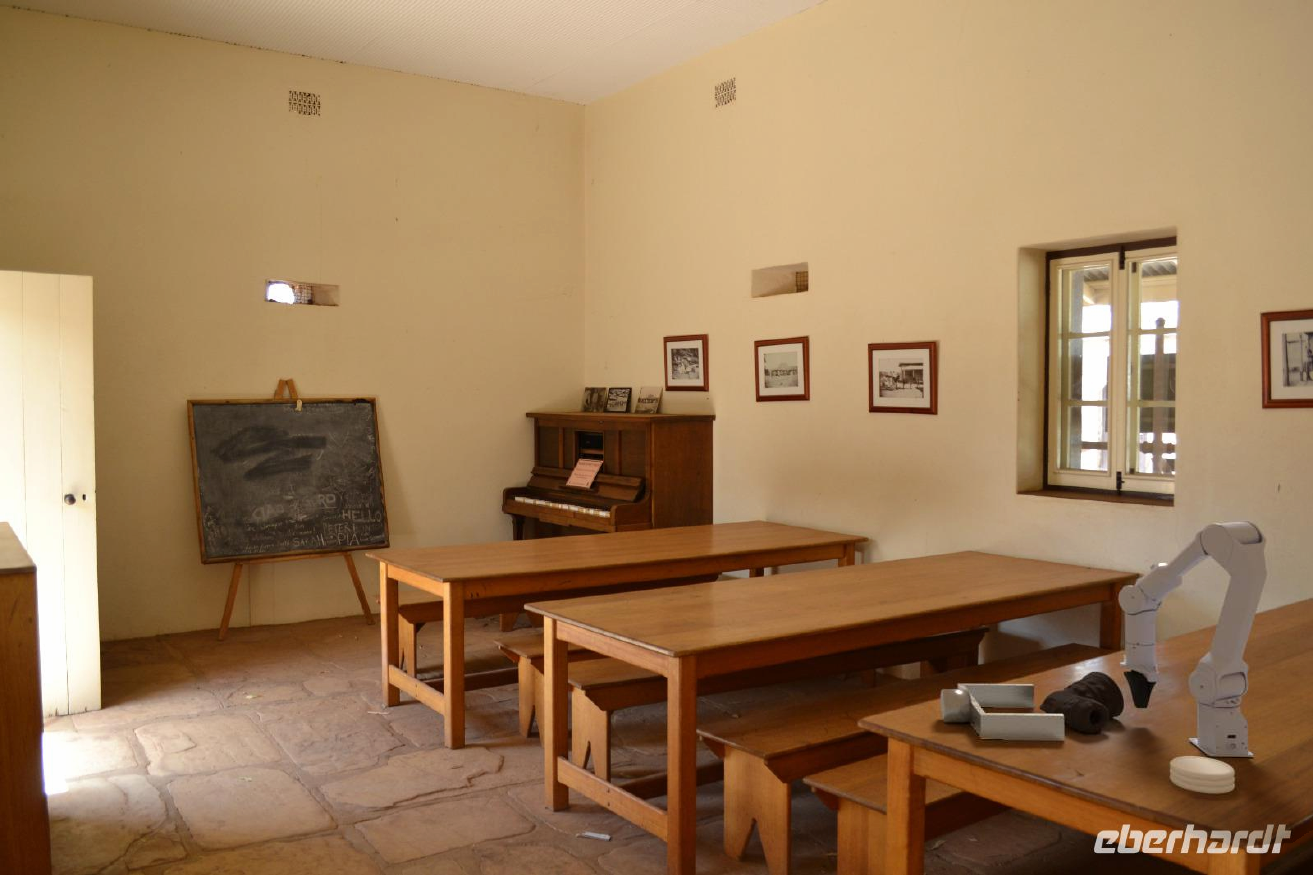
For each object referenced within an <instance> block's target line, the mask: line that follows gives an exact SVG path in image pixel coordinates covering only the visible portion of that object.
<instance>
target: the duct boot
mask: <svg viewBox="0 0 1313 875" xmlns="http://www.w3.org/2000/svg"><path fill="white" fill-rule="evenodd" d="M981 707H993V708H995V709H998V708H999V709H1034V708H1035V685H1034V684H1033V683H957V688H954V689H953V688H951V689H945V688H943V689H942V688H941V691H940V712H941V718H942V721H943V720H944V721H943V722H944V723H964V722H970V723H971V724H972V726H973V727H974V728H975V730H976V732H978V734H979V736H980V737H981V738H990V739H1003V740H1002V741H1054V742H1055V741H1057V742H1058V741H1060V742H1061V741H1062V742H1064V741H1065V721H1064V715H1063V714H1046V713H1011V712H1010V713H1008V712H1007V713H1004V712H1001V713H999V712H998V713H997V712H995V713H993V712H989V713H986V712H985V711H984V708H981ZM993 708H992V709H993ZM970 723H969V724H970ZM971 724H970V725H971ZM972 726H971V727H972ZM973 727H972V728H973ZM975 730H974V731H975ZM976 732H975V733H976ZM979 736H978V737H979Z"/></svg>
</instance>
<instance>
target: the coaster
mask: <svg viewBox="0 0 1313 875" xmlns="http://www.w3.org/2000/svg"><path fill="white" fill-rule="evenodd" d="M1169 767H1170V769H1169V773H1170V775H1169V779H1170V781H1171V782H1172V783H1173V784H1174V785H1175V786H1178V787H1179V788H1182V789H1185V790H1188V791H1192V792H1194V793H1195V792H1197V793H1203V794H1212V795H1213V794H1214V795H1215V794H1218V795H1219V794H1225V793H1230V792H1232V791H1233V790H1234V789H1235V786H1236V784H1235V781H1236V778H1235V773H1236V772H1235V769H1234V768H1233V766H1231V765H1230V764H1229V763H1226V762H1224V761H1222V760H1218V759H1215V758H1210V757H1205V756H1197V755H1196V756H1195V755H1194V756H1193V755H1190V756H1189V755H1185V756H1177V757H1175V758H1173V759H1171V760H1170V762H1169Z"/></svg>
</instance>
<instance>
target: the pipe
mask: <svg viewBox="0 0 1313 875" xmlns="http://www.w3.org/2000/svg"><path fill="white" fill-rule="evenodd" d="M1038 708H1039V710H1041V711H1043V712H1044V714H1063V715H1064V723H1066V724H1067V725H1068V726H1069V728H1073V729H1075V730H1076V731H1078V732H1081V733H1084V734H1085V733H1086V734H1096V733H1100V732H1101V731H1103V730H1104V728H1105V727H1106V726H1107V724H1108V722H1109V720H1110V718H1116V717H1119V716H1120V715H1122V713H1123V711H1124V708H1125V700H1124V696H1123V693H1122V690H1121V688H1120V686H1119V685H1118V684H1117V682H1116V681H1115V680H1114V679H1113V678H1112V677H1110V676H1109V675H1108V674H1106V673H1105V672H1101V671H1090V672H1089V673H1087V674H1086V675H1084V676H1083V677H1082V678H1081V679H1079V680H1076V681H1074V682H1072V683H1071V684H1069V685H1068V686H1067V687H1064V688H1063V690H1055V691H1053V692H1051V693H1049V694H1048V695H1047V696H1046V698H1044V700H1043V701H1042V703H1041V704H1040V706H1039V707H1038Z"/></svg>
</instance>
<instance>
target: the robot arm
mask: <svg viewBox="0 0 1313 875" xmlns="http://www.w3.org/2000/svg"><path fill="white" fill-rule="evenodd" d="M1266 544H1267V538H1266V537H1265V535H1264V534H1263V532H1262V531H1261V528H1259V527H1258V526H1257V525H1256V524H1255V523H1254V522H1252V521H1250V520H1239V521H1236V522H1235V521H1234V522H1226V523H1225V522H1224V523H1215V522H1214V523H1210V524H1208V525H1207V526H1205V527H1204V528H1203V530H1200V531H1198V532H1197V533H1196V534H1195V537H1194V538H1193V539H1192V540H1191V542H1189V543H1188V544H1187V545H1186V546H1185V547H1184V548H1183V549H1182V550H1181V551H1180V552H1179V553H1178V554H1177V555H1176V556H1174V558H1172V560H1171V561H1170V562H1160V563H1154V564H1152V565H1151V566H1150V571H1149V572H1147V573H1146V574H1145V575H1143V576H1142V577H1138V578H1137V579H1136V580H1135V584H1134V585H1132V584H1131V585H1124V586H1122V588H1121V590H1120V591H1119V593H1118V604H1119V606H1120V608H1121V609H1122V611H1124V633H1125V634H1124V636H1125V637H1124V641H1125V643H1124V646H1125V649H1124V650H1125V652H1124V654H1123V656H1122V659H1123V660H1122V662H1119V666H1120V667H1121V668H1124V669H1128V670H1129V671H1123V675H1124V678H1125V679H1126V682H1127V684H1128V687H1129V689H1130V693H1131V697H1132V703H1133V705H1134V707H1135V708H1136V709H1148V705H1149V702H1150V698H1151V694H1152V692H1153V689H1154V687H1156V686H1155V685H1156V684H1157V683H1159V682H1160V672H1159V671H1158V665H1157V663H1156V662H1157V656H1156V648H1157V647H1156V646H1157V644H1156V619H1157V618H1158V611H1159V610H1160V608H1161V607H1162V605H1163V601H1164V600H1165V599H1166V598H1168V596H1170V595H1171V594H1172V593H1173V592H1174V591H1175V590H1177V589H1178V588H1180V587H1181V586H1182V584H1183V576H1184V575H1186V574H1187V573H1188V572H1190V571H1191V570H1193V569H1194V568H1196V567H1197V566H1198V565H1200V564H1201V563H1203V561H1205V560H1207V559H1208V558H1209V557H1211V558H1212V559H1213V560H1214V561H1215V562H1216V563H1217V564H1218V565H1219V566H1220V567H1222V568H1223V569H1224V571H1226V572H1227V573H1228V574H1229V576H1230V579H1229V583H1228V586H1227V590H1226V593H1225V597H1224V600H1223V604H1222V607H1221V610H1220V615H1219V617H1218V620H1217V621H1218V622H1217V624H1216V628H1215V632H1214V635H1213V639H1212V642H1211V645H1210V648H1209V649H1210V650H1209V651H1208V652H1207V653H1206V654H1205V655H1204V656H1203V657H1202V658H1201V659H1200V660H1198V662H1197V666H1196V668H1195V669H1194V671H1193V672H1191V674H1190V675H1189V677H1188V680H1187V681H1188V682H1187V683H1188V686H1187V687H1188V690H1189V692H1190V694H1191V696H1193V698H1194V702H1196V706H1197V707H1196V708H1197V710H1196V711H1197V712H1196V714H1197V715H1196V716H1197V717H1196V718H1197V719H1196V724H1197V725H1196V726H1197V731H1196V733H1197V735H1196V736H1197V737H1193V738H1192V737H1190V738H1188V741H1189V742H1190V743H1192V744H1193V745H1194V746H1195V747H1196V748H1198V749H1200V750H1201V751H1202V752H1203V753H1205V754H1206V755H1207V756H1208V757H1209V756H1210V757H1228V758H1229V757H1233V758H1234V757H1237V758H1238V757H1241V758H1243V757H1244V758H1245V757H1246V758H1247V757H1248V758H1251V757H1252V758H1253V757H1254V753H1252V752H1251V751H1249V723H1248V721H1247V719H1246V717H1245V716H1244V715H1243V714H1242V712H1241V703H1242V696H1244V695H1245V694H1247V692H1248V690H1249V679H1248V678H1249V677H1248V672H1249V665H1248V664H1247V663H1246V662H1245V661H1244V660H1243V657H1244V655H1245V654H1244V653H1245V651H1246V647H1247V645H1248V644H1247V643H1248V640H1249V636H1250V633H1251V630H1252V627H1253V623H1254V620H1255V616H1256V613H1257V611H1258V610H1257V609H1258V606H1259V603H1260V599H1261V597H1262V594H1263V589H1264V586H1265V583H1266V580H1267V575H1268V574H1267V573H1268V572H1267V571H1268V570H1267V564H1266V560H1265V559H1266V558H1265V548H1266Z"/></svg>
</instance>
